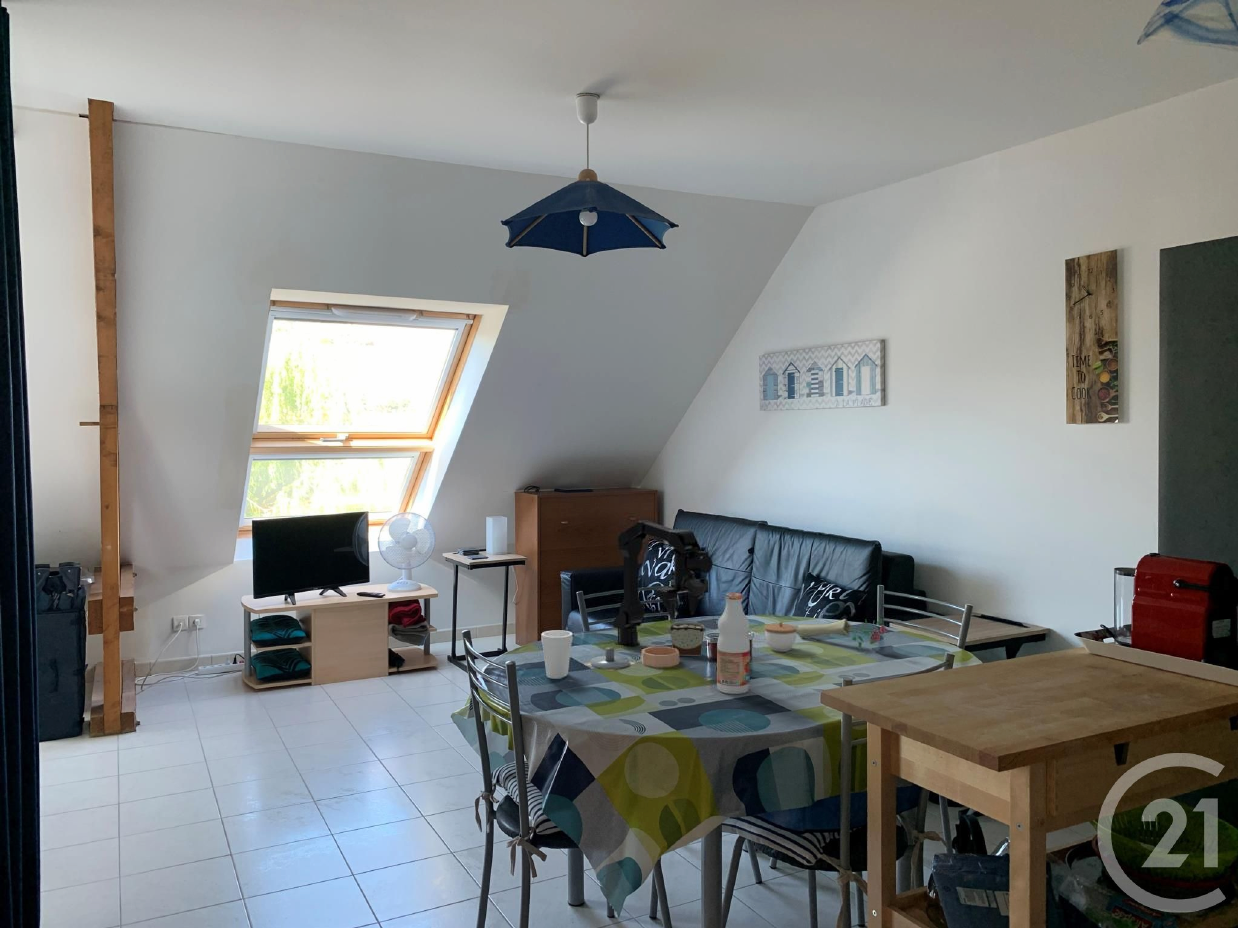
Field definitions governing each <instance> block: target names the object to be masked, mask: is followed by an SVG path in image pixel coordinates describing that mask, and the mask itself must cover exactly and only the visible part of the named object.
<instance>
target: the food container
mask: <svg viewBox="0 0 1238 928" xmlns="http://www.w3.org/2000/svg"><path fill="white" fill-rule="evenodd" d="M668 632H670V639H671V648H676V649H677V650H678V651H679V656H682V657H683V656H686V657H687V656H691V657H702V653H703V652H702V651H703V643H704V642H703V641H704V635H705V633H706V632H707V631H706V628H705V625H704V624H702V623H698V622H691V621H690V622H689V621H688V622H687V621H683V622H682V621H681V622H674V623H671V624H670V626H669V627H668Z"/></svg>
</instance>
